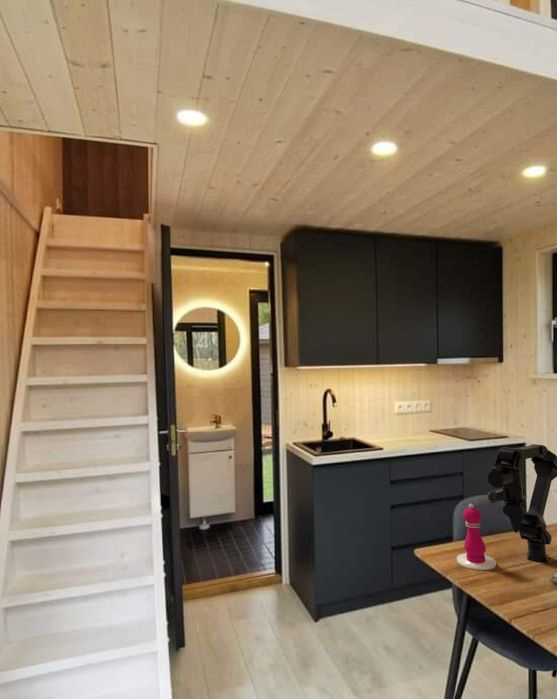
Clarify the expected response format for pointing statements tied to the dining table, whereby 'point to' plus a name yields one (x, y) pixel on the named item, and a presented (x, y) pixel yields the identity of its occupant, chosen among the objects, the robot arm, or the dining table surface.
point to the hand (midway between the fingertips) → (516, 528)
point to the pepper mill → (473, 536)
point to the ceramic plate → (487, 565)
